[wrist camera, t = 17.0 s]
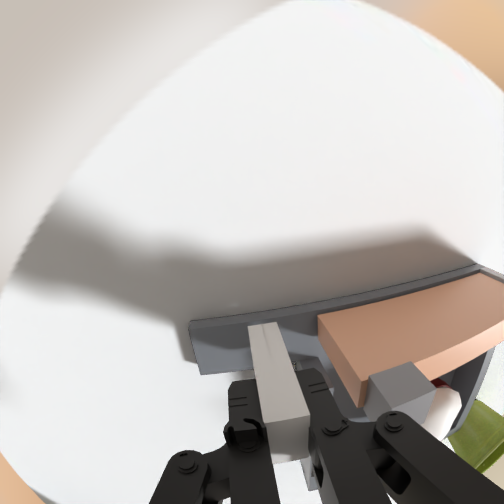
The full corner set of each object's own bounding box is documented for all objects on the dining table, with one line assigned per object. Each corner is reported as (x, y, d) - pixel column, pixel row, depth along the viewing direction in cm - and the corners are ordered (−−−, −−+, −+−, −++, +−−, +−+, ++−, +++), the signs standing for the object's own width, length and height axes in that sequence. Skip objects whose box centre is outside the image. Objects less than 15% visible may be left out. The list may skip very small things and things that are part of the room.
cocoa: (383, 348, 17) (486, 468, 5) (444, 342, 17) (542, 424, 6) (347, 440, 19) (394, 549, 7) (405, 428, 19) (462, 515, 7)
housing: (234, 468, 20) (239, 529, 13) (190, 321, 16) (171, 404, 9) (441, 408, 21) (473, 447, 14) (477, 263, 17) (540, 291, 10)
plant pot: (430, 452, 24) (457, 492, 16) (438, 418, 22) (475, 466, 13) (480, 416, 24) (510, 449, 15) (492, 375, 21) (532, 411, 13)
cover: (317, 341, 15) (374, 443, 8) (317, 311, 15) (384, 411, 7) (476, 294, 16) (548, 336, 8) (480, 270, 16) (557, 307, 8)
